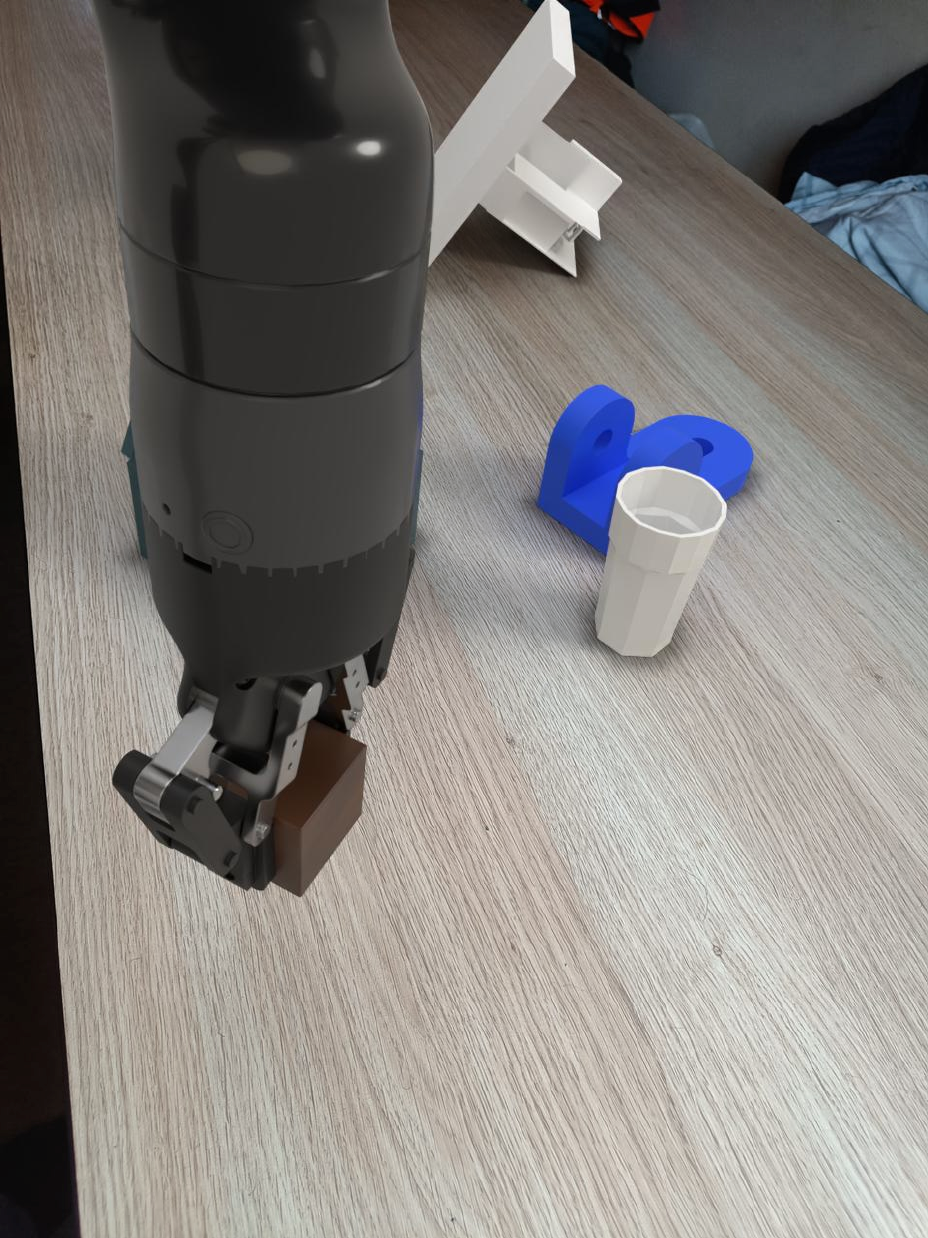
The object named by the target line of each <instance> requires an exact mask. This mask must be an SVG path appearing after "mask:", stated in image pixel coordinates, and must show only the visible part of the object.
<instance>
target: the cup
mask: <svg viewBox="0 0 928 1238" xmlns="http://www.w3.org/2000/svg"><path fill="white" fill-rule="evenodd" d="M727 505H728V504H727V503H726V500H725V501H724V499H723V498H722V496H721V495H720V493H719V492H718V491H717V490H716V489H715V488H714V487H713V486H712V485H710V484H709V483H708V482H707V481H706V480H705V479H703V478H701V477H698V476H696V475H694V474H691V473H689V472H686V471H684V470H679V469H675V468H670V467H665V466H657V467H645V468H641V469H638V470H635V471H632V472H629V473H627V474H626V475H625V476H624V478H623V479H622V480H621V481H620V482H619V484H618V489H617V494H616V499H615V504H614V509H613V514H612V519H611V524H610V529H609V534H608V535H609V538H610V541H609V546H608V552H607V556H605V557H606V558H605V563H604V568H603V574H602V578H601V584H600V587H599V588H600V589H599V594H598V599H597V604H596V609H595V613H594V624H595V630H596V637H597V639H598V640H599V641H601V642H602V643H603V644H605V645H606V646H608V647H609V648H611V649H612V650H613V651H614V652H616V653H617V654H619V655H620V656H625V657H626V656H627V657H640V658H641V657H644V658H653V657H654V656H656V655H657V654H658V653H659V652H660V651H662V650H663V649H664V648H665V647H666V646H668V645H669V644H670V643H671V641H672V638H673V636H674V632H675V630H676V628H677V626H678V624H679V621H680V618H681V617H682V614H683V613H684V609H685V608H686V605H687V603H688V600H689V599H690V596H691V594H692V591H693V589H694V588H695V585H696V582H697V579H698V578H699V575H700V573H701V571H702V568H703V566H704V565H705V563H706V562H707V561H708V558H709V557H710V556H711V555H712V550H713V549H714V546H715V544H716V542H717V540H718V538H719V535H720V532H721V530H722V528H723V526H724V524H725V521H726V518H727V508H728V506H727Z"/></svg>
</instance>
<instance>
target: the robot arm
mask: <svg viewBox="0 0 928 1238" xmlns="http://www.w3.org/2000/svg"><path fill="white" fill-rule="evenodd" d="M89 3H90V7H91V10H92V15H93V19H94V22H95V23H94V24H95V27H96V30H97V34H98V37H99V39H98V40H99V43H100V47H101V53H102V57H103V65H104V69H105V70H104V71H105V79H106V80H105V81H106V87H107V94H108V101H109V107H110V108H109V111H110V121H111V133H112V135H111V136H112V156H113V157H112V163H113V164H112V165H113V172H112V173H113V181H114V193H115V208H116V217H117V227H118V234H119V242H120V243H119V244H120V251H121V252H120V253H121V260H122V269H123V276H124V285H125V293H126V294H125V295H126V303H127V311H128V317H129V335H130V359H129V380H128V384H129V385H128V392H129V393H128V397H129V398H128V405H129V418H130V419H129V421H130V420H131V428H132V436H133V443H134V451H135V459H136V466H137V474H138V482H139V492H140V500H141V508H142V516H143V523H144V531H145V539H146V547H147V555H148V559H147V563H148V570H149V578H150V586H151V587H150V588H151V593H152V594H151V595H152V599H153V602H154V606H155V608H156V611H157V613H158V616H159V617H160V619H161V622H162V623H163V625H164V627H165V628H166V630H167V632H168V634H169V636H170V637H171V639H172V640H173V642H174V643H175V645H176V647H177V649H178V650H179V652H180V654H181V657H182V659H183V670H182V676H181V680H180V684H179V687H178V691H177V695H176V708H177V712H178V715H179V717H180V719H181V720H180V721H179V723H178V724H177V725H176V727H175V728H174V729H173V731H172V732H171V734H170V735H169V736H168V738H167V739H166V741H165V742H164V744H163V745H162V746H161V748H160V749H159V751H157V752H154V753H152V754H151V755H150V756H149V755H147V754H145V753H143V752H142V751H139V750H138V749H132V750H130V751H127V753H126V754H124V756H122V758H121V759H120V760H119V762H118V763H117V765H116V767H115V769H114V771H113V774H112V776H111V777H112V778H111V784H112V786H113V787H114V789H115V790H116V791H117V793H118V794H119V795H120V796H121V798H122V799H123V800H124V802H125V803H126V804H127V805H128V807H130V808H131V810H132V812H134V814H135V815H136V817H138V819H139V820H140V821H141V822H142V824H143V825H144V826H145V827H146V829H147V830H148V831H149V833H150V834H151V835H152V836H153V837H154V838H155V840H156V841H157V843H159V844H161V845H163V846H164V847H166V848H168V849H170V850H174V851H177V852H179V853H181V854H183V855H184V856H186V857H187V858H190V859H192V860H193V861H195V862H196V863H199V864H200V865H202V866H204V867H206V869H207V870H208V871H210V872H211V873H214V874H215V875H216V876H218V877H220V878H222V879H224V880H226V881H228V882H229V883H231V884H233V885H235V886H237V887H238V888H241V889H242V890H244V891H246V892H249V891H250V889H254V890H256V891H260V892H264V891H265V890H266V889H267V887H268V886H269V885H270V883H272V882H271V881H272V879H273V878H274V877H275V845H274V824H272V822H273V817H274V813H275V808H276V803H277V798H278V794H279V793H280V792H281V791H283V790H284V789H285V788H286V787H287V786H288V785H289V784H290V783H292V782H293V781H294V780H295V778H296V775H297V770H298V766H299V761H300V756H301V752H302V747H303V742H304V738H305V733H306V729H307V724H308V721H310V720H311V719H312V718H313V719H315V720H317V721H319V722H321V723H323V724H325V725H327V726H329V727H331V728H333V729H335V730H337V731H339V732H341V733H343V734H346V735H348V736H350V737H351V734H352V733H351V732H352V729H354V727H355V726H356V724H358V723H359V721H360V720H361V718H362V716H363V711H364V706H365V703H364V697H363V692H364V691H365V689H366V688H367V686H369V687H370V688H372V689H376V688H378V687H379V686H380V685H381V683H382V682H383V681H384V680H385V679H386V677H387V675H388V670H389V665H390V661H391V657H392V653H393V648H394V644H395V640H396V636H397V632H398V628H399V624H400V620H401V616H402V612H403V608H404V605H405V600H406V596H407V592H408V588H409V584H410V581H411V576H412V571H413V568H414V565H415V560H416V550H415V549H414V548H411V545H412V544H411V534H412V524H413V516H414V506H415V496H416V483H417V474H418V465H419V455H420V449H421V445H422V438H423V437H422V436H423V426H424V425H423V424H424V423H423V422H424V380H423V379H424V378H423V366H422V334H423V333H422V331H423V327H424V315H425V306H426V305H425V304H426V294H427V284H428V274H429V268H428V264H429V254H430V243H431V233H432V232H431V229H432V220H433V207H434V190H435V156H434V154H435V143H434V134H433V129H432V124H431V119H430V116H429V114H428V110H427V107H426V104H425V103H424V100H423V97H422V95H421V94H420V92H419V90H418V88H417V86H416V84H415V82H414V79H413V77H412V76H411V73H410V72H409V70H408V68H407V67H406V65H405V62H404V60H403V57H402V55H401V53H400V50H399V47H398V44H397V41H396V38H395V34H394V30H393V26H392V20H391V14H390V6H389V5H390V4H389V0H89ZM410 544H411V545H410ZM269 751H270V755H269V754H267V753H265V752H269ZM228 781H230V782H232V783H234V784H236V785H238V786H240V787H242V788H243V789H244V790H245V791H246V792H247V794H248V800H247V799H245V798H243V797H241V796H239V795H237V794H235V793H233V792H231V791H230V790H228V789H227V784H228Z"/></svg>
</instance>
